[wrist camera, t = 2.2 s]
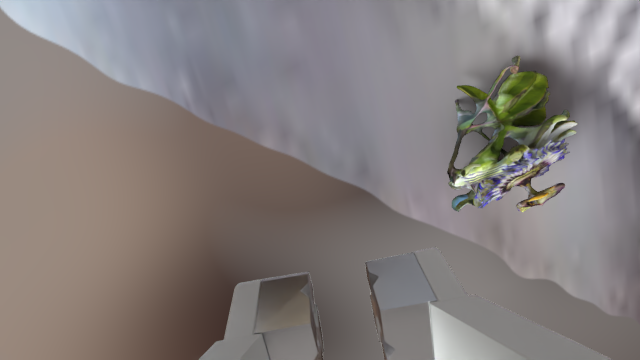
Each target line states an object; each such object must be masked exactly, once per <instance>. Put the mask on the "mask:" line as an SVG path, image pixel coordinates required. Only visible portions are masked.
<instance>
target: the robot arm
mask: <svg viewBox="0 0 640 360" xmlns="http://www.w3.org/2000/svg"><path fill="white" fill-rule="evenodd" d="M365 266H366V274H367V280H368V283H369V287H370V291H371V295H370V299H371V305H372V310H373V315H374V321H375V326H376V330H377V334H378V338H379V342H381V343H382V349H383V356H384V360H612V359H611V358H609V357H606V356H604V355H602V354H600V353H598V352H596V351H594V350H592V349H589V348H587V347H585V346H583V345H581V344H579V343H577V342H575V341H573V340H571V339H569V338H566V337H564V336H562V335H560V334H558V333H556V332H554V331H552V330H550V329H547V328H545V327H543V326H541V325H539V324H537V323H535V322H533V321H531V320H529V319H526V318H524V317H522V316H520V315H518V314H516V313H514V312H512V311H510V310H507V309H505V308H503V307H501V306H499V305H497V304H495V303H493V302H491V301H489V300H486V299H484V298H482V297H480V296H478V295H476V294H475V295H469V296H468V295H467V293H466V292H465V290H464V288H463V287H462V285H461V284H460V282H459V280H458V279H457V277H456V276H455V274H454V272H453V271H452V269H451V267H450V266H449V264H448V263H447V261H446V260H445V258H444V257H443V255H442V253H441V252H440V250H439V249H438V248H436V247H433V248H428V249H424V250H419V251H415V252H412V253H407V254H402V255H398V256H392V257H387V258H382V259H377V260H372V261H367V262H365ZM323 352H324V345H323V337H322V330H321V323H320V318H319V313H318V308H317V305H316V304H314V294H313V286H312V282H311V278H310V275H309V272H303V273H297V274H291V275H285V276H279V277H273V278H267V279H262V280H254V281H249V282H244V283H239V284H238V285H237V286H236V287H235V290H234V295H233V299H232V305H231V309H230V313H229V318H228V323H227V327H226V332H225V337H224V340H222V341H217V342H215V344H214V345H213V346H212V347H211V348H210V349H209V350H208V351H207V352H206V353H205V354H204V355H203V356H202V357H201V358H200V359H199V360H324V359H323Z"/></svg>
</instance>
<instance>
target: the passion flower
mask: <svg viewBox="0 0 640 360" xmlns="http://www.w3.org/2000/svg"><path fill="white" fill-rule="evenodd" d="M520 60H521V59H520V56H516V57H514V58H513V59H512V62H513V65H511V66H509V67H507V68H506V69H504V70H502V72H501V74H500V75H499V77H498V78H497V79H496V81H495V83H494V84H493V86H492V88H491V89H490V91H489V93H488V94H486V93H484V92H482V91H481V90H480V89H477V88H475V87H472V86H467V85H462V86H457V88H458V89H460V90H461V91H463V92H464V93H466V94H467V95H469V96H470V97H471V98H472V99H473V100H474V102H475V104H476V106H477V109H476V112H475V113H472V112H471V111H464V110H462V109H461V108H460V107H459V103H458V100H456V101H455V103H456V110H457V114H458V126H457V132H458V138H457V142H456V146H455V150H454V153H453V156H452V159H451V161H450V163H449V168H448V171H447V172H448V174H449V178H450V180H451V181H450V182H449V183H448V184H449V185H450V186H451V188H453V189H455V190H457V189H458V190H462V189H464V188H470V189H471V191H470V192H469V193H467V194H464V195H459V196H457V197H455V198H454V199H453V201H452V208H453V209H454V210H456V211H458V212H459V210H461V208H462V207H464V205H466V204H472V205H474V206H476V207H478V208H483V207H484V206H485V205H486V204H488V203H490V202H491V201H492V200H500V199H501V198H502V197H503V195H504V194H506V193H507V192H508V191H510V189H511V188H512V187H514V186H520V187H523V188H525V189H526V191H527V192H528V194H529V196H528V199H526V200H523V201H521V202H519V203H518V204H517V205H516V207H517V209H518V211H521V212H524V211H525V210H526V209H528V208H530V207H532V206H535V205H543V204H544V203H545V202H546V201H547V200H549V199H550V198H552V197H554V196H556V195H557V194H558V193H559V192H560V191H561V190H562V189H563V188H564V187H565V184H564V183H559V184H556V185H554V186H552V187H550V188H547V189H545V190H543V191H540V192H537V191H535V190H534V189H533V188H532V187H531V178H535V177H537V176H541V175H543V174H544V173H545V172H547V171H549V166H550V165H551V164H552V163H555V162H556V161H560V160H562V159H563V158H564V155H565V154H567V153H570V152H566V150H567V148H566V146H567V145H568V144H569V143H564V142H565V139H564V138H566V137H568V136H572V135H573V134H575V133H576V131H574V130H570V128H572V127H574V126H576V125H577V124H578V123H576V122H575V121H567V119H568V118H569V117H570V113H569V112H568V111H566V110H564V111H563V113H562V114H561V115H555V116H553V117H551V118H550V119H548V120H547V121H546V122H545V118H546V109H545V107H544V106H545V104H546V103H547V101H548V99H549V98H548V95H550V92H549V91H547V90H546V88H549V85H548V80H547V77H546V76H545V75H542V74H540V73H537V72H536V71H527V72H518V70H519V61H520ZM509 68H510V72H511V73H512V74H511V75H509V76H508V77H507V79H506V80H504V82H503V83H502V85H501V87H500V88H499V91H498V93H497V94H496V95H495V98H494V99H493V100H492V99H491V98H490V96H491V94H492V93H493V91H494V90H495V88H496V85H497V84H498V83H499V81H500V80H501V79H502V77H503V75H504V73H505V71H506V70H507V69H509ZM517 72H518V73H517ZM481 112H485V113H487V120H486V121H485V122H484V123H482V124H478V125H473V124H472V123H473V121H474V120H475V119H476V117H477V116H478V115H479V114H480V113H481ZM541 124H542V125H541ZM536 125H541V126H538V127H527V128H520V127H517V126H536ZM487 126H489V127H493V128H494V129H495V132H494V134H493V136H492V138H491V139H489V138H488V137H487V136H486V135H485V134H484V133H482V128H484V127H487ZM471 131H475V132H478V133H479V134H481V135H482V136H483V137H484V138H486V139H487V140H489V141H490V142H489V143H488V145H487V146H486V147H485V148H484V149H483V150H481V151H480V152H479V154H478V155H476V156H475V157H474V158H472V160H471V162H470V164H469V165H467V166H466V167H464V168H463V169H456V168H455V167H454V162H455V159H456V157H457V155H458V149H459V147H460V143H461V140H462V138H463V136H464V135H466V134H468V133H469V132H471ZM506 137H510V138H512V139H514V140H516V141H517V142H518V143H519V145H518V146H516V147H513V148H512V149H511V150H510V151H509V152H506V151H505V150H504V149H502V147H503V144H504V139H505V138H506ZM500 152H502V154H503V155H504V158H503V159H502V160H499V161H497V160H498V158H499V156H500Z"/></svg>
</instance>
